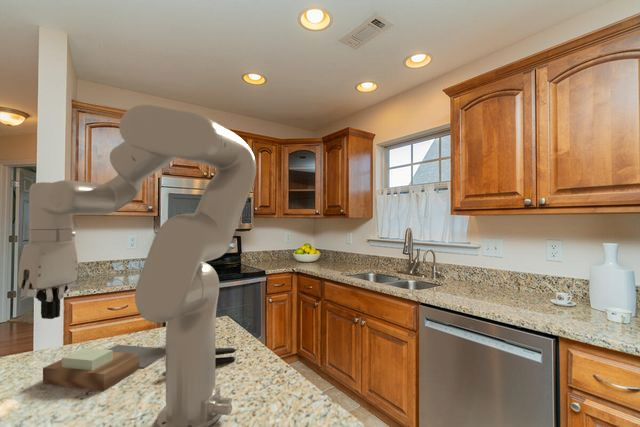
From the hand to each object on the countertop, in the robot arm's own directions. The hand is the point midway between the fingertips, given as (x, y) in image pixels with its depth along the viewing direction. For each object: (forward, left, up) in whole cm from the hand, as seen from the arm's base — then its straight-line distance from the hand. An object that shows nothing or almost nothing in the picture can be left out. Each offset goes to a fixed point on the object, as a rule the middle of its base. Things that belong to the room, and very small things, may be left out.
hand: (50, 317), depth 71 cm
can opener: (-26, -20, -19) cm, 38 cm away
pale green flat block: (0, -9, -13) cm, 16 cm away
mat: (0, -23, -19) cm, 29 cm away
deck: (0, -11, -19) cm, 21 cm away
